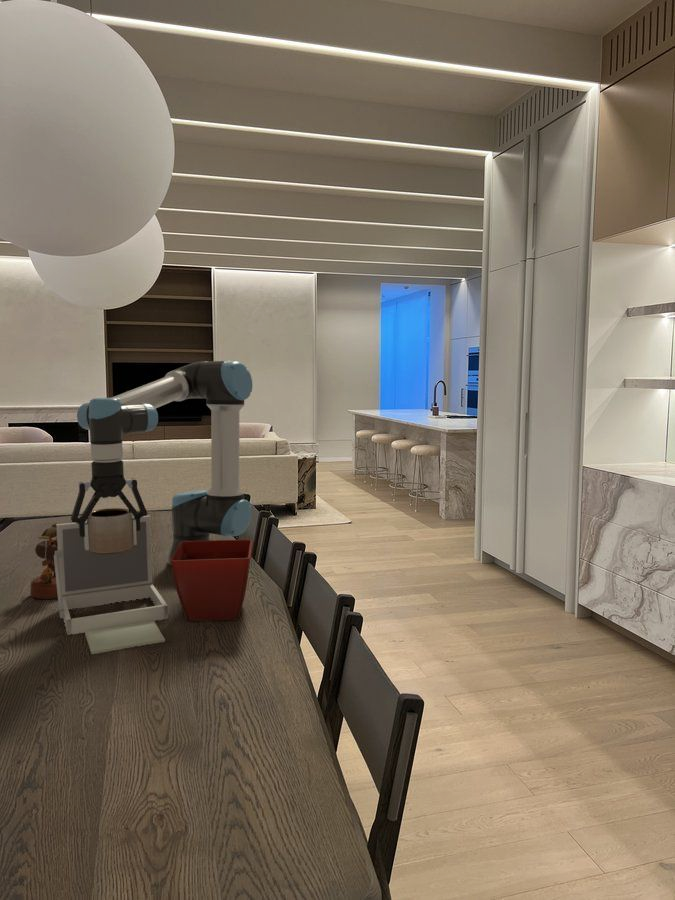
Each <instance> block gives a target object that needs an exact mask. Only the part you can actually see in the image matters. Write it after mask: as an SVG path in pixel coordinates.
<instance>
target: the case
mask: <svg viewBox="0 0 675 900" xmlns="http://www.w3.org/2000/svg"><path fill="white" fill-rule="evenodd" d="M132 518H134V516H132ZM56 526H57V536H56V538H57V546H58V551H55V555H54V563H55V573H56V583H57V593H58V598H57V601H58V602H57V603H58V611H59V618H60V619H62V620H63V619H64V620H63V622H64V623H65V624H64V627H66V628H65V631H66V634H67V636H70V635H71V634H72V635H77V634H82V633H83V634H85V631H91V630H97V629H103V628H109V627H116V626H122V625H128V624H134V623H140V622H147V621H153V620H154V622H157V621H156V620H158V621H163V619H164V620H168V619H169V609H168V608H169V607H168V604H167V602H166V601H165V600H164V598H163V596H162V595H161V593H159V591H158V590H157V588H156V586H154V583H153V563H152V562H153V560H152V559H153V558H152V557H153V556H152V531H151V530H152V529H151V528H152V526H151V515H146V516H143V517H141V518H140V531H136V537H137V545H133V547H132V548H131V549H130V550H128V551H126V552H122V553H118V554H109V555H100V554H94V553H92V552H90V551H89V550H86V549H85V542H84V537H81V536H80V534H79V524H78V523H73V522H68V523H67V522H66V523H57V524H56ZM149 597H150V598H151V599H150V598H149ZM143 598H146V599H150V601H153V602H152V604H153V606H146V607H145V606H144V607H139V608H133V609H126V610H119V611H114V612H106V613H100V614H95V615H94V614H93V615H88V616H82V617H80V616H79V617H75V618H74V617H73V618H71V614H70V611H69V610H68V609H71V610H75V608H78V609H83V608H91V607H96V606H105V605H111V604H110V603H112V604H116V603H115V602H119V603H122V602H121V601H125V602H130V601H129V600H132V601H137V600H136V599H139V600H144V599H143ZM104 604H105V605H104ZM72 608H74V609H72Z"/></svg>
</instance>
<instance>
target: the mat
mask: <svg viewBox="0 0 675 900" xmlns="http://www.w3.org/2000/svg"><path fill="white" fill-rule="evenodd" d="M84 635H85V638H86V641H87V645H88V647H89V651H90V653H91V655H97V654H101V653H108V652H115V651H118V650H125V648H126V649H129V648H130V647H131V648H136V647H135V646H137V647H141V646H142V645H143V646H147V644H148V645H154V644H158V643H165V642H166V638H165V637H164V635H163V634H162V632H161V631H160V629H159V627H158V626H157V623H156V621H154V620H153V621H147V622H140V623H134V624H128V625H122V626H116V627H109V628H103V629H97V630H91V631H85V632H84ZM153 643H154V644H153ZM143 646H142V647H143Z"/></svg>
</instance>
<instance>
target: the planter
mask: <svg viewBox="0 0 675 900" xmlns="http://www.w3.org/2000/svg"><path fill="white" fill-rule="evenodd" d="M132 515H133V514H132V512H131V511H130V510H129V509H128V508H120V507H119V508H118V507H117V508H116V507H113V508H112V507H111V508H109V507H108V508H102V509H101V508H100V509H96V510H92V512H91V513H90V515H89V516H88V518H87V520H86V522H87V524H88V535H89V551H90V552H92V553H94V554H100V555H109V554H118V553H122V552H126V551H128V550H130V549H131V548H132V547H133V530H132V517H133V516H132Z"/></svg>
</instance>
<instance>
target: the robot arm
mask: <svg viewBox="0 0 675 900" xmlns="http://www.w3.org/2000/svg"><path fill="white" fill-rule="evenodd" d="M252 391H253V378H252V375H251V372H250V370H249V369H248V367H247V366H246V365H245V364H243V363H242V362H240V361H233V360H220V361H219V360H216V361H215V360H211V361H207V360H205V361H203V360H202V361H195V362H192V363H189V364H187V365H183V366H180V367H178V368H176V369H173V370H171V371H169V372H167V373H166V374H165V375H164V377H162V378H159V379H156V380H154V381H151V382H148V383H146V384H142V385H141V386H138V387H136V388H133V389H130V390H127V391H125V392H122V393H120V394H117V395H115V396H112V397H101V398H100V397H97V398H96V397H94V398H92V399H90V400H89V402H84V403H82V404H81V405H80V406H79V408H78V409H77V412H76V413H77V414H76V419H77V422H78V424H79V425H78V426H80V427H81V428H82V429H84V430H86V431H87V430H88V431H89V437H90V438H89V439H90V458H91V460H92V461H91V464H90V465H91V480H90V481H89V482H83V481H80V482H78V494H77V496H76V501H75V503H74V507H73V510H72V513H71V517H70V520H71V523H78V524H79V534H80V536H81V537H84V542H85V549H86V550H89V535H88V524H87V518H88V516H89V515H90V513H91V512H92V511H94V510H93V509H94V508H95V507H96V505H97V503H98V502H99V501H100V499H101V498H102V499H106V498H110V497H111V498H116V497H117V496H118V497H119V498H120V500H121V501H122V502H123V504H124V505H125V506H126V509H129V510H130V511H131V512H132V515H133V516H132V517H134V518H132V530H133V545H137V537H136V531H140V518H141V517H143V516H148V512H147V511H148V510H147V509H146V506H145V504H144V502H143V499H142V496H141V494H140V492H139V489H138V480H137V479H135V478H134V477H133V478H129V479H126V478H125V476H124V473H125V472H124V461H123V460H122V459H123V457H124V451H123V435H128V434H129V435H130V434H137V433H138V434H139V433H143V434H145V433H146V432H151V431H153V430H155V428H156V427H157V425H158V422H159V413H158V411H157V409H158V408H160V407H162V406H165V405H167V404H169V403H171V402H182V401H185V400H188V399H203V400H204V399H206V401H205V402H206V406H207V407H208V408H209V409H210V411H211V412H210V413H211V417H210V418H211V421H210V422H211V424H210V425H211V427H210V428H211V430H210V431H211V433H210V435H211V437H210V438H211V440H210V442H211V447H210V449H211V460H210V461H211V463H210V465H211V466H210V467H211V468H210V470H211V471H210V472H211V474H210V475H211V476H210V477H211V480H210V483H211V484H210V485H211V486H210V488H209V489H208V490H207V489H197V490H189V491H185V492H180V493H179V492H178V493H176V494H173V497H172V498H171V501H172V502H171V517H172V518H171V521H172V522H171V523H172V542H171V546H170V549H169V552H168V556H167V563H168V565H169V566H171V558H172V556H173V555H174V553H175V551H176V549H177V548H178V546H179V544H180V542H184V541H209V540H211V535H219V536H223V537H238V536H241V535H242V534H243V533H245V531H247V528H248V527H249V525H250V522H251V520H252V514H253V511H252V510H253V509H252V506H251V503H250V501H248V500H247V499H245V492H244V490H242V488H241V487H240V411H241V409H243V407H245V401H246V400H247V399H248V398H249V397H250V396H251V393H252ZM126 485H127V486H128V487H129V489H130V490H131V492H132V494H133V497H134V499H135V502H136V504H137V506H138V510H139V511H137V510H136V508H135V507H134V505H133V504H132V503H131V501H130V500H129V499H128V498H127V496H126V495H125V493H124V492H123V489H124V488H125V486H126ZM89 488H92V489H93V491H94V493H93V495H92V496H91V499H90V500H89V502H88V503H87V505H86V507H85V509H84V510H83V511H82V513H81V515H80V512H81V508H82V505H83V502H84V498H85V496H86V492H88V491H89ZM79 515H80V516H79ZM210 534H211V535H210Z"/></svg>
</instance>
